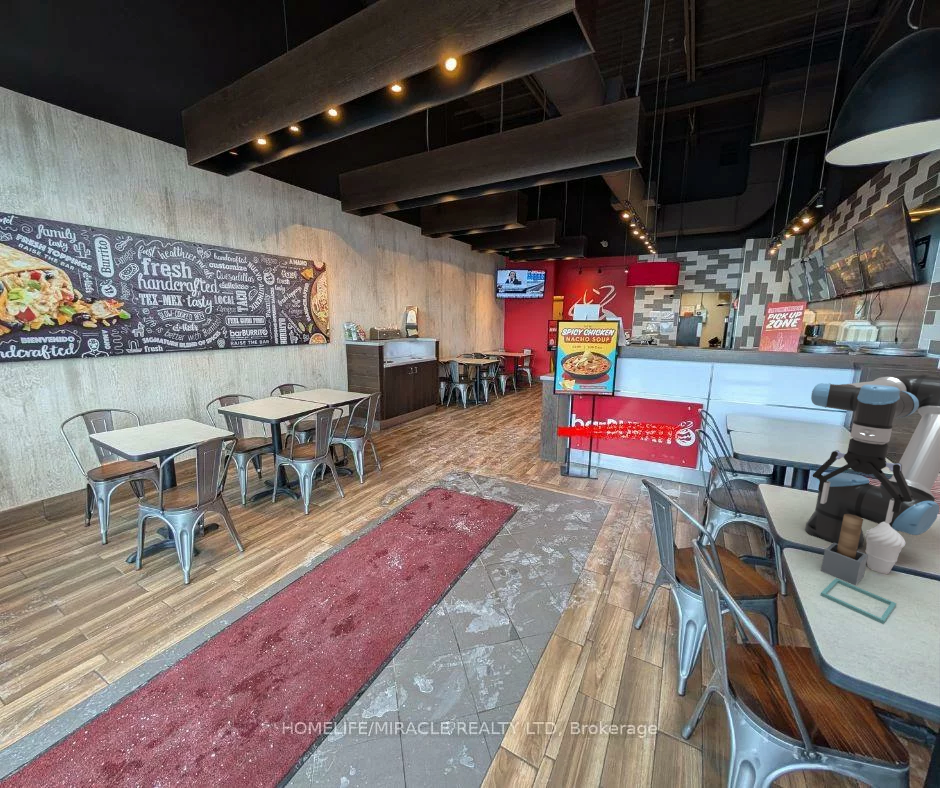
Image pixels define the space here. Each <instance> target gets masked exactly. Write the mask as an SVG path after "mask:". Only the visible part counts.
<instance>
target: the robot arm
mask: <svg viewBox="0 0 940 788" xmlns="http://www.w3.org/2000/svg"><path fill="white" fill-rule="evenodd" d="M810 396H811V397H810V399H811V402H812V404H814V405H815V406H817V407H822V408H829V409H835V410H841V411H849V412H853V413H855V414H854V418H853V422H852V427H851V432H850V437H851V438H850V439H849V442H848V447H847V450H846V451H847V452H846V453H845V452H844V453H843V452H842V451H840V450H838V449H837V450H833V451H832V452H831V454H830V457H829V458H828V459H827V460H826V461H825V462H823V464H822V465H821V466H820V467H819V468H818V469H817V470H815V472H813V473H812V477H813V478H815V479H816V480H818V481H819V484H818V494H817V498H816V499H817V500H816V503H815V510H814V512H813V513H812V515H811V516H810V517H809V519H808V520H807V521H806V522H805V523H806V524H805V528H804V529H805V532H806V533H807V534H809V535H810V536H812V537H814V538H817V539H821V540H823V541H826V542H828V543H831V544H832V543H833V542H834V543H837V544H838V542H839V537H840V532H841V527H842V522H843V517H844V514H851V515H855V516H858V517H861V518H862V519H863V520H866V521H869V522H871V523H872V522H873V523H876V524H877V525H879V524H880V523H881V522H885V523H888V524H889V525H890V526H891V527H892V528H893V529H894V530H896V531H897V532H902V533H905V534H908V535H912V536H919V535H922V534H924V533H926V532H927V531H928V530H929V529H930V528H931V527H932V526H933V525H934V523H935V521H936V519H937V517H938V514H939V512H940V505H939V504H938V503H937V502H936V501H935V499H936V497H935V495H934V494H933V493H932V491H931V490H932V488H933V486H934V484H935V482H936V480H937V478H938V476H939V474H940V376H939V375H929V374H928V375H927V374H915V373H914V374H911V373H910V374H909V373H908V374H898V375H891V376H888V375H887V376H883V377H882V376H881V377H878V378H876V379H874V380H873V381H870V380H869V381H862V382H861V381H860V382H853V383H843V384H834V383H830V382H828V383H823V382H822V383H817V384H816V385H815V386H814V388H813V389H812V391H811V395H810ZM915 412H917V413H918V414H919V415H920V416H921V418H920V420H919V422H918V424H917V426H916V427H915V430H914V432H913V433H912V436H911V437H910V440H909V442H908V444H907V445H906V447H905V449H904V452H903V454H902V456H901V458H900V459H899V462H896V463H893V462H887V460H886V458H887V454H888V448H889V445H888V443H889V442H890V440H891V436H892V430H893V425H894V421H895V419H896V418H897V419H900V418H905V417H908V416H911V415H912V414H914V413H915ZM842 458H843V459H844V460H845V462H846V463H847V464H844V465H843V466H841V467H839V468H837V469H835V470H833V471H831V472H826V473H825V471H827V469H829V468H830V467H831V466H832V465H833V463H835V462H836V461H837V460H840V459H842ZM885 468H888V469H889V471H890V472H892V476H891V478H888V477H887V476H886V474H885V473H884V471H883V470H884V469H885ZM882 469H883V470H882ZM847 470H851V471H853V472H855V473H862V474H865V475H867V476H868V475H873V476H874V477H875V478H876V479H877V480H878V481H879V482H880V485H879V486H877V485H874V484H871V483H870V482H871V481H870V478H868V477H865V476H863V475H860V474H855V473H848V472H846V471H847ZM824 473H825V474H824ZM864 544H865V534H864V531H863V527H862V528H861V533H860V538H859V543H858V548H857V549H861V548H863V547H864Z"/></svg>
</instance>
